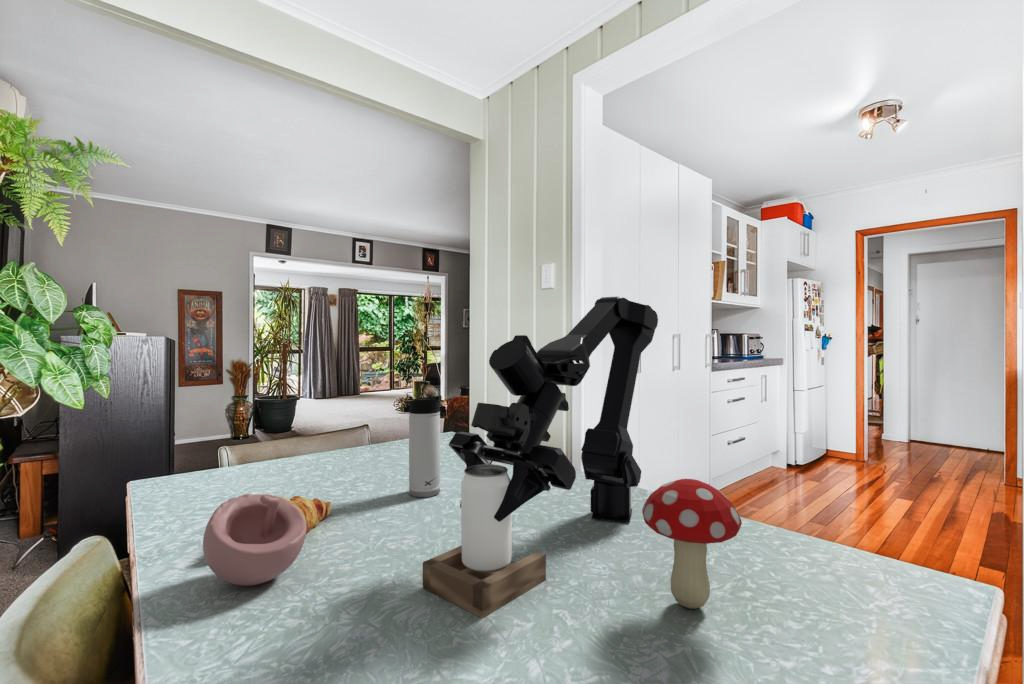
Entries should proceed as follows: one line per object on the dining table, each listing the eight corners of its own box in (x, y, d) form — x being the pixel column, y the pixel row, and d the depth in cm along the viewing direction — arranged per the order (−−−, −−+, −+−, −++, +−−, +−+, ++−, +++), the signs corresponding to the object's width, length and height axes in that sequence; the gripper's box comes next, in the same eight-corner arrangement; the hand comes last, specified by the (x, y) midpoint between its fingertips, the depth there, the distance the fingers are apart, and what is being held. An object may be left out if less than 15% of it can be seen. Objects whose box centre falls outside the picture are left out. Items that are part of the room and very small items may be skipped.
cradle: (487, 556, 73) (487, 534, 73) (545, 579, 66) (545, 554, 66) (422, 588, 64) (422, 562, 64) (482, 618, 57) (482, 589, 57)
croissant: (318, 532, 92) (303, 490, 93) (356, 513, 88) (340, 470, 90) (204, 580, 72) (188, 526, 74) (246, 558, 69) (229, 503, 70)
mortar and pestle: (240, 614, 58) (239, 515, 58) (183, 589, 64) (182, 499, 63) (325, 571, 68) (325, 487, 68) (269, 553, 74) (269, 476, 74)
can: (504, 548, 69) (504, 461, 69) (517, 570, 63) (516, 474, 62) (458, 554, 67) (457, 465, 67) (466, 576, 61) (465, 478, 61)
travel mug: (435, 498, 99) (435, 397, 99) (404, 496, 100) (403, 397, 100) (445, 489, 105) (445, 394, 105) (416, 487, 107) (416, 393, 106)
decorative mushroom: (647, 577, 66) (648, 464, 66) (739, 593, 62) (740, 473, 62) (634, 621, 56) (634, 487, 56) (743, 644, 52) (744, 500, 52)
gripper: (457, 376, 74) (396, 467, 65) (562, 384, 62) (504, 496, 53) (494, 422, 80) (442, 510, 72) (596, 437, 68) (548, 545, 59)
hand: (479, 514), depth 64 cm, fingers closed on can, 6 cm apart
